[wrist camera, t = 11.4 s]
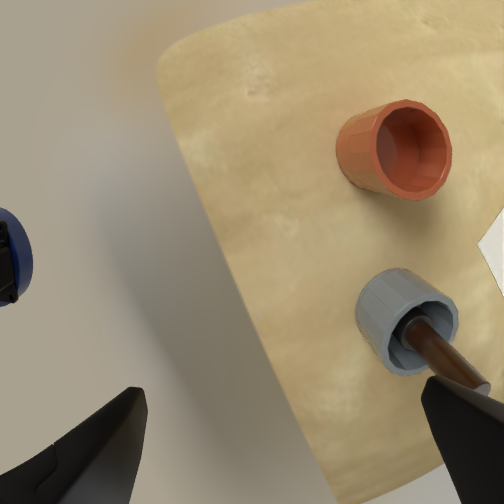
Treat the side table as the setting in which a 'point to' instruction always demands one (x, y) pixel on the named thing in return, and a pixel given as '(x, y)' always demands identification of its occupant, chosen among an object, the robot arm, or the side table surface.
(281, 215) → the side table surface
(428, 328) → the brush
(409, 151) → the holder
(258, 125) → the side table surface
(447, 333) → the cup
